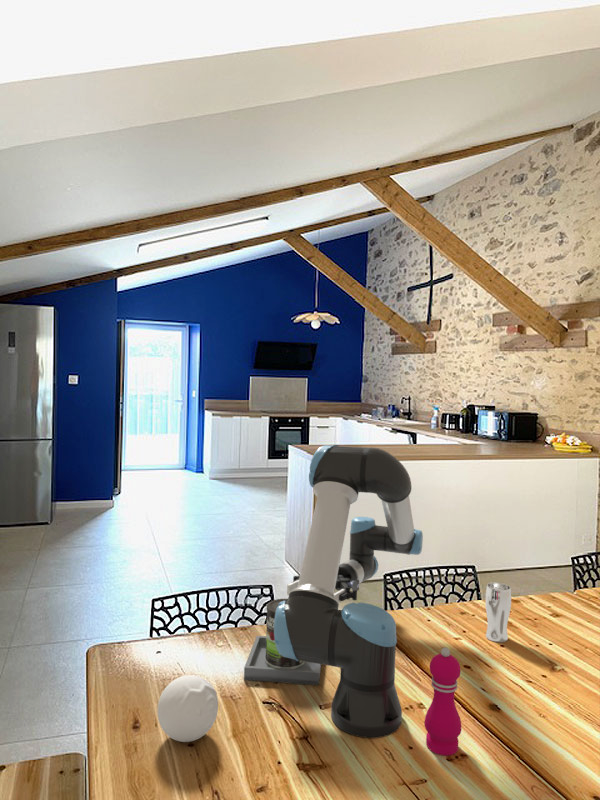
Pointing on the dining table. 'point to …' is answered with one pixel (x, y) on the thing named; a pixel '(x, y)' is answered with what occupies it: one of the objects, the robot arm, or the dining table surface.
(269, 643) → the coffee can
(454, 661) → the pepper mill
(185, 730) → the decorative ball
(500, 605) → the beer glass
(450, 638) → the dining table surface
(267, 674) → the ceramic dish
